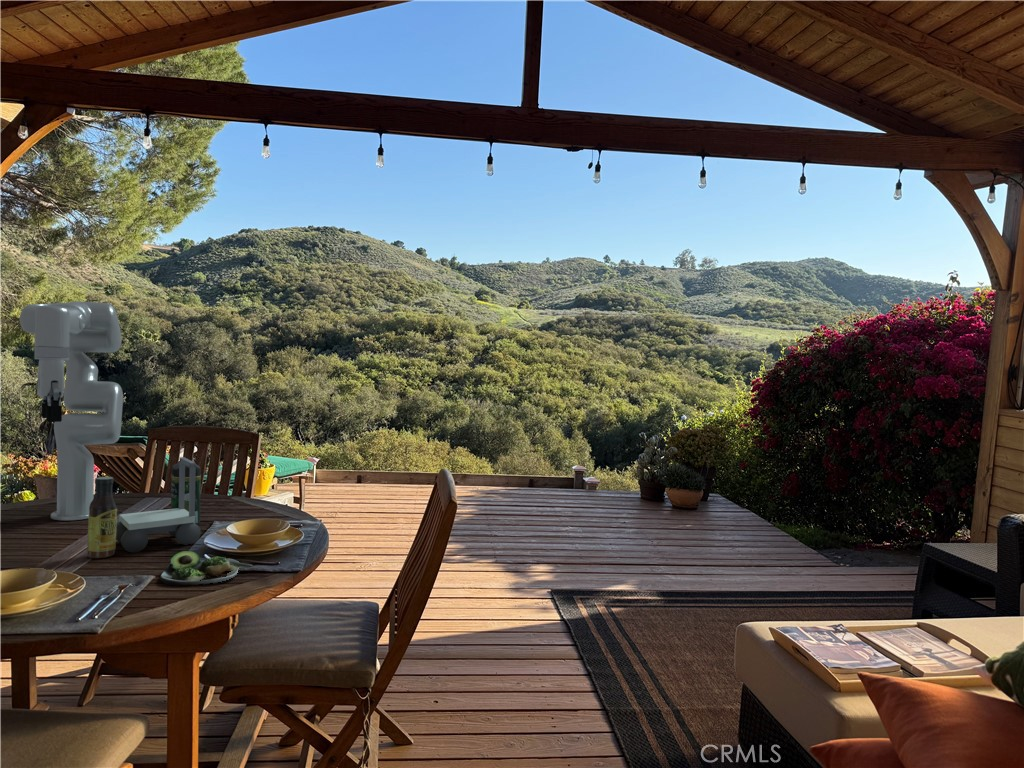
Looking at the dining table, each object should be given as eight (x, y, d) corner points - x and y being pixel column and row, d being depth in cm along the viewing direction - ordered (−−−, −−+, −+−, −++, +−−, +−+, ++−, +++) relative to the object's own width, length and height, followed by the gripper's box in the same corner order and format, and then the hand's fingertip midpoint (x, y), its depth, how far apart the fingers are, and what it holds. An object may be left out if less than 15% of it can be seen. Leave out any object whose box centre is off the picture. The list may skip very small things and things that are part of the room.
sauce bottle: (102, 560, 172) (103, 481, 171) (81, 558, 173) (81, 479, 172) (122, 553, 178) (123, 476, 178) (101, 551, 180) (102, 474, 179)
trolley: (112, 543, 187) (113, 461, 186) (187, 533, 199) (189, 456, 198) (122, 554, 178) (123, 468, 177) (200, 543, 190) (201, 462, 189)
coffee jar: (168, 521, 212) (169, 460, 211) (196, 518, 216) (197, 459, 215) (173, 528, 204) (174, 465, 203) (202, 525, 208) (203, 464, 207)
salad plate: (256, 562, 177) (257, 544, 177) (245, 586, 159) (246, 566, 159) (174, 564, 173) (174, 546, 172) (153, 589, 155) (154, 568, 155)
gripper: (30, 352, 184) (30, 416, 185) (38, 354, 171) (38, 423, 171) (64, 353, 189) (63, 416, 189) (74, 355, 175) (73, 422, 176)
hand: (51, 419), depth 180 cm, fingers open, 9 cm apart
